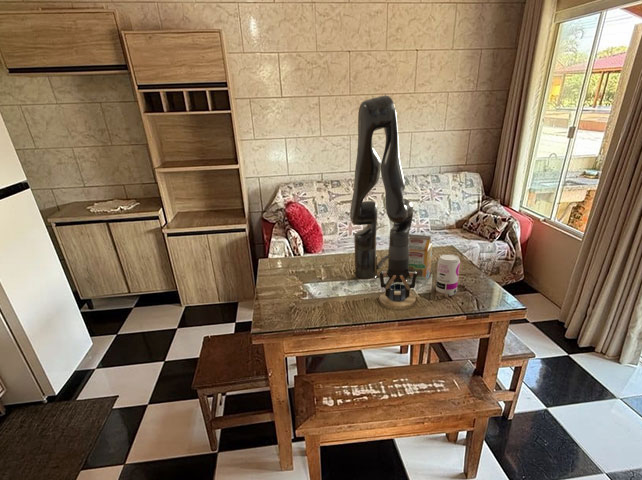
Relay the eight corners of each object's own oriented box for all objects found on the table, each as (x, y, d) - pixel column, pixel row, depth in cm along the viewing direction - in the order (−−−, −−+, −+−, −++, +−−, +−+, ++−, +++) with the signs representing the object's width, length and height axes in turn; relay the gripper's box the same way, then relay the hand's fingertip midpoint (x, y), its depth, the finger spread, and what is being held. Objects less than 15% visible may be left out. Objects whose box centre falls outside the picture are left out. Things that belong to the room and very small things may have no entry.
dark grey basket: (389, 294, 161) (389, 283, 159) (405, 295, 160) (406, 283, 158) (388, 303, 154) (388, 292, 151) (405, 304, 153) (406, 292, 150)
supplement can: (457, 289, 166) (461, 254, 159) (455, 298, 160) (459, 261, 152) (437, 287, 169) (440, 252, 161) (434, 295, 162) (437, 259, 155)
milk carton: (401, 280, 177) (402, 237, 168) (406, 271, 185) (408, 230, 176) (425, 282, 173) (428, 239, 164) (430, 274, 182) (433, 232, 173)
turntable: (391, 291, 167) (391, 288, 166) (421, 299, 159) (422, 296, 159) (372, 303, 158) (372, 300, 157) (403, 313, 150) (403, 309, 149)
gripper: (418, 252, 152) (415, 293, 160) (379, 252, 154) (379, 292, 162) (418, 259, 145) (416, 302, 153) (378, 259, 147) (378, 300, 155)
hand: (397, 297), depth 157 cm, fingers closed on dark grey basket, 6 cm apart
